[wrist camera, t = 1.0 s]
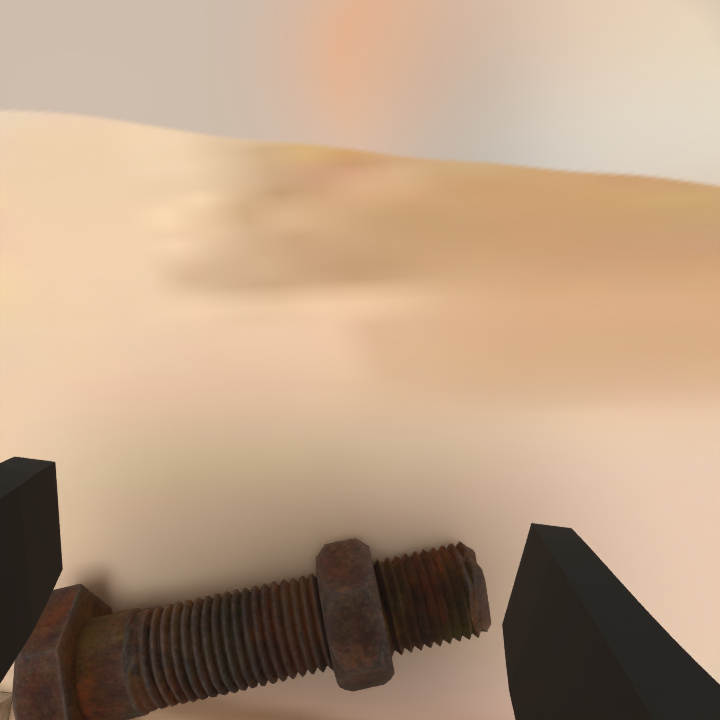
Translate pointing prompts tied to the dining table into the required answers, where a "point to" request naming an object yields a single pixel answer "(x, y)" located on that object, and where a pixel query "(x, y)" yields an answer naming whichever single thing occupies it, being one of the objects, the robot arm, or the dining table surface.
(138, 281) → the dining table surface
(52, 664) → the bolt
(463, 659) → the dining table surface
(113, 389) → the dining table surface
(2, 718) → the hub cradle
